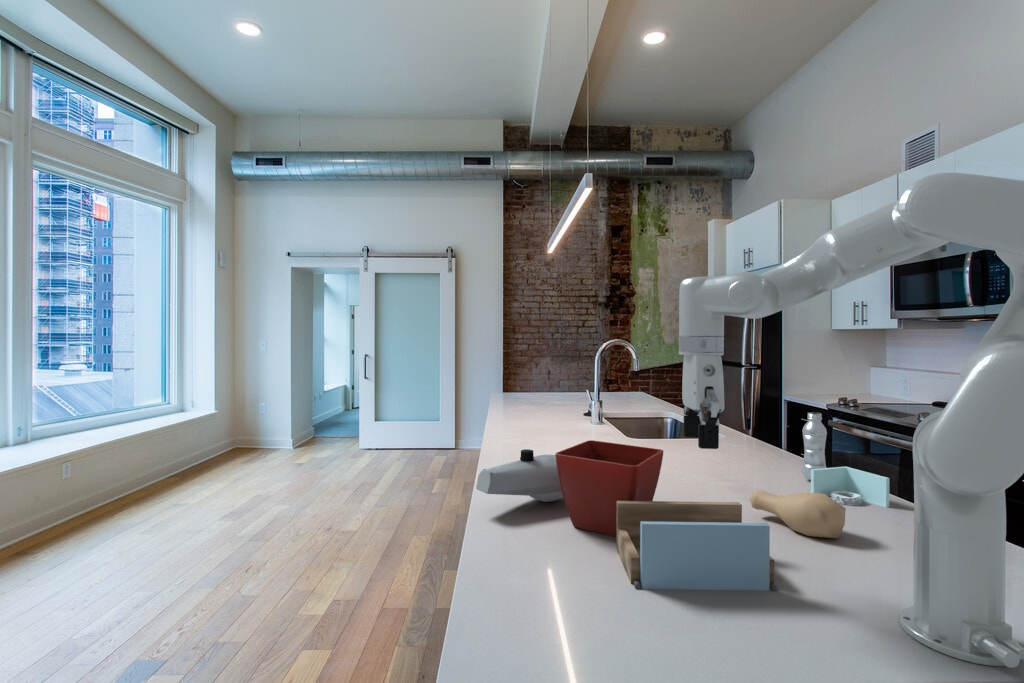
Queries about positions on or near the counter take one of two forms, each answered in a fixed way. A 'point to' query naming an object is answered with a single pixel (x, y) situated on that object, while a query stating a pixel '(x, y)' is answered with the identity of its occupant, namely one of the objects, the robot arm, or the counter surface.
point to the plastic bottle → (814, 444)
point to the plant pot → (605, 481)
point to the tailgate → (704, 555)
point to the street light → (524, 478)
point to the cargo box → (667, 512)
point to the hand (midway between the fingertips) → (699, 442)
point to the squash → (804, 512)
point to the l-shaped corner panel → (850, 486)
